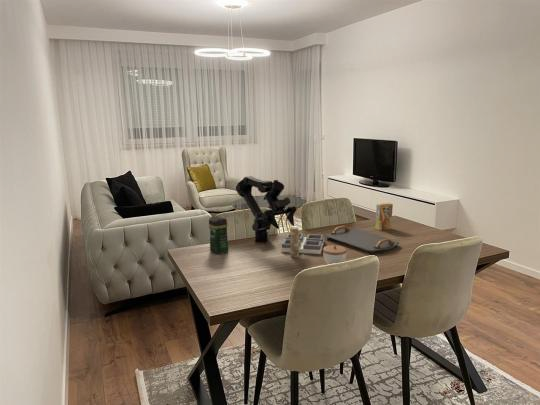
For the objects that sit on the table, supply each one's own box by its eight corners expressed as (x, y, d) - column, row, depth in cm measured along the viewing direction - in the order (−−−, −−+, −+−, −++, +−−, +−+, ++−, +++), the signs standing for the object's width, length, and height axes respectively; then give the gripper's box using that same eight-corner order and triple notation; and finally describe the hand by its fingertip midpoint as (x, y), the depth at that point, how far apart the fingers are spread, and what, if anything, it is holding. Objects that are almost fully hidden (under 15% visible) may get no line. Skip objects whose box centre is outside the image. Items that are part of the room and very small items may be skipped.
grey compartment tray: (281, 251, 212) (281, 244, 211) (287, 239, 231) (287, 232, 230) (320, 253, 208) (320, 246, 207) (323, 241, 227) (324, 234, 226)
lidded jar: (318, 265, 193) (318, 245, 191) (331, 258, 201) (331, 240, 199) (337, 270, 186) (338, 250, 184) (350, 264, 194) (351, 244, 192)
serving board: (320, 239, 233) (320, 228, 232) (349, 231, 246) (349, 221, 245) (375, 258, 203) (375, 245, 201) (404, 248, 216) (405, 236, 214)
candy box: (387, 227, 253) (388, 202, 249) (391, 228, 249) (393, 203, 246) (375, 228, 250) (376, 203, 246) (379, 230, 246) (380, 205, 243)
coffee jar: (231, 252, 212) (229, 217, 208) (217, 256, 207) (216, 220, 203) (220, 248, 220) (219, 213, 216) (207, 251, 215) (206, 216, 211)
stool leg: (289, 257, 204) (289, 229, 201) (291, 254, 208) (291, 227, 205) (298, 257, 203) (298, 230, 200) (299, 255, 207) (299, 228, 204)
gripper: (264, 195, 204) (276, 221, 197) (294, 190, 214) (307, 215, 207) (256, 207, 212) (268, 233, 206) (286, 202, 222) (298, 227, 215)
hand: (286, 227), depth 208 cm, fingers open, 9 cm apart
